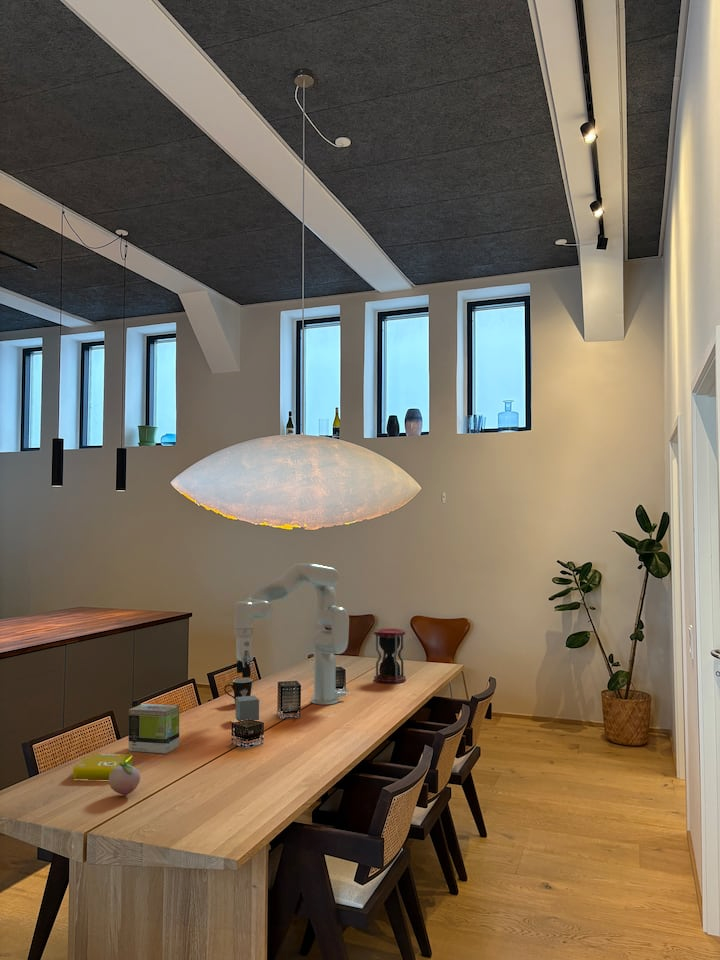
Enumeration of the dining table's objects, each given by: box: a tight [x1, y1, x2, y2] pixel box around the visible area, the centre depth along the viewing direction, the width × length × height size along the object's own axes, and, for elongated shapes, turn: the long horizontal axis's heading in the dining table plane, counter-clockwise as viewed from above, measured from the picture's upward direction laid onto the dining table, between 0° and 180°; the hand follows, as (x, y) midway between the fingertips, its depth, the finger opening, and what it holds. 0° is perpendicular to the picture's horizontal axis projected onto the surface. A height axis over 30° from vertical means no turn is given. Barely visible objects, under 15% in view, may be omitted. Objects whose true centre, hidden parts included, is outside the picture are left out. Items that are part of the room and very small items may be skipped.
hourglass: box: [373, 628, 407, 685], centre depth 379 cm, size 16×16×25 cm
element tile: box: [72, 753, 134, 780], centre depth 241 cm, size 15×15×5 cm
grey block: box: [234, 694, 260, 721], centre depth 304 cm, size 8×8×9 cm
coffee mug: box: [223, 678, 253, 704], centre depth 332 cm, size 12×9×10 cm
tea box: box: [128, 703, 180, 754], centre depth 267 cm, size 15×10×15 cm
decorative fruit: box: [108, 761, 141, 796], centre depth 221 cm, size 9×8×10 cm
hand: (243, 674), depth 304 cm, fingers open, 9 cm apart
